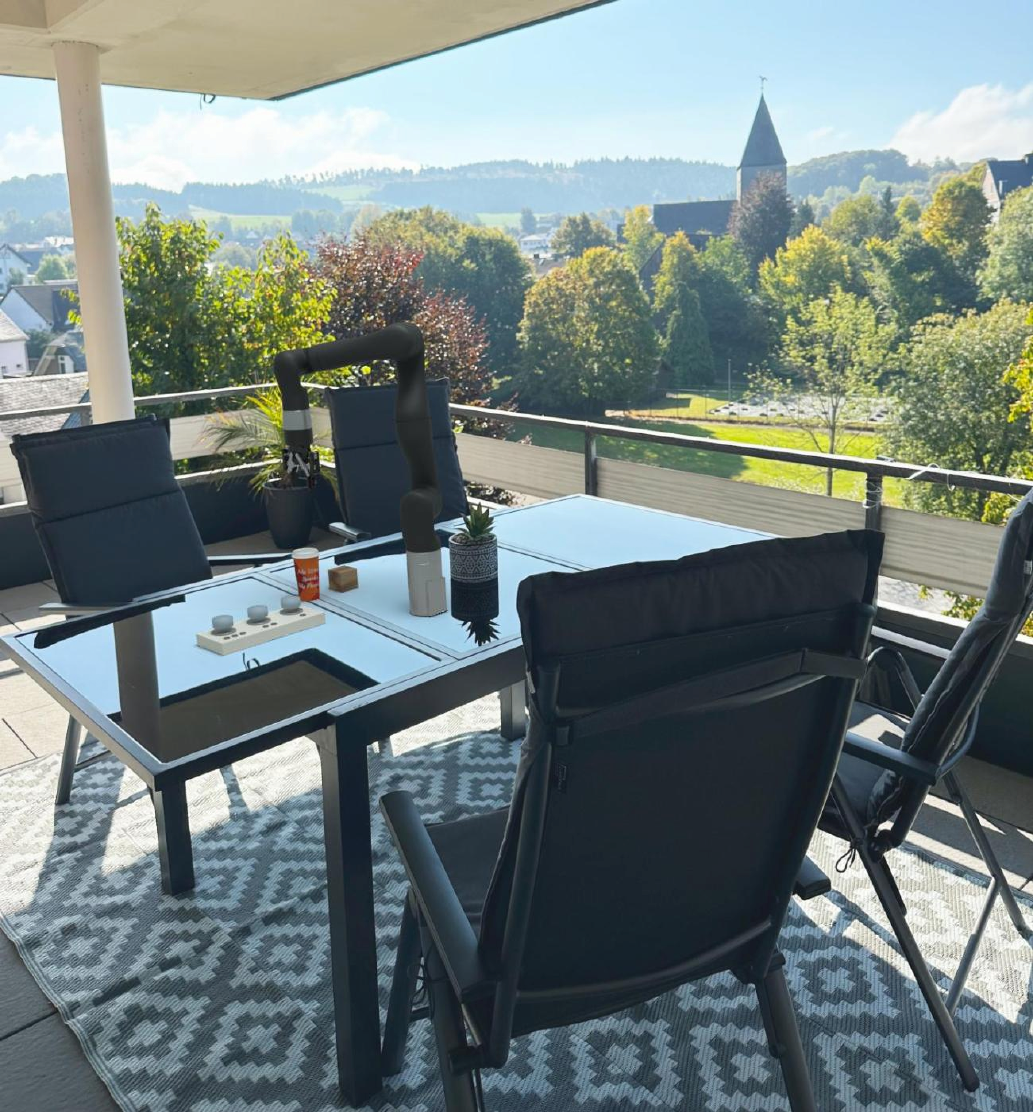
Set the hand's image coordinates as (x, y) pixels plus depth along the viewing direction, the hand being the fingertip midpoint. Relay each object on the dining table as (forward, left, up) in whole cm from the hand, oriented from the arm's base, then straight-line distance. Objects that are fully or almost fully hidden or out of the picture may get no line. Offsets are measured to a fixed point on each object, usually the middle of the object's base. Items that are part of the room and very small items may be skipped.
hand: (303, 488), depth 268 cm
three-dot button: (-8, +33, -28) cm, 44 cm away
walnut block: (+6, -15, -33) cm, 37 cm away
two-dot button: (-8, +23, -28) cm, 37 cm away
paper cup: (+6, -3, -33) cm, 34 cm away
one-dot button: (-9, +13, -28) cm, 32 cm away
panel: (-10, +23, -33) cm, 41 cm away
